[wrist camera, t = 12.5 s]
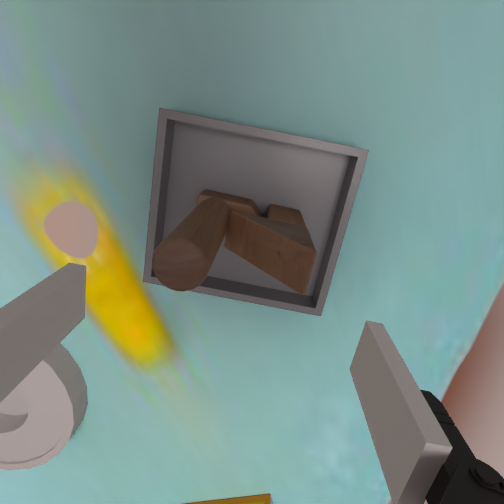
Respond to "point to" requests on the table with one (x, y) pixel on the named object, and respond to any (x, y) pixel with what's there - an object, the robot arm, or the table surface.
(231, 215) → the brown round-handled part
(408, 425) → the robot arm
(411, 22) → the table surface
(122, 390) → the table surface
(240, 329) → the table surface
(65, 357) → the ashtray
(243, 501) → the packaging box
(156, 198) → the tray
